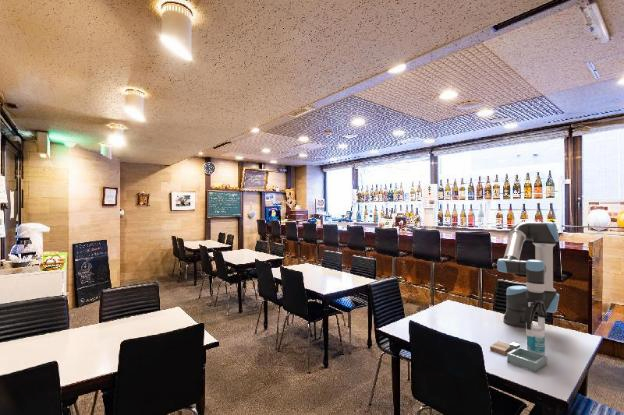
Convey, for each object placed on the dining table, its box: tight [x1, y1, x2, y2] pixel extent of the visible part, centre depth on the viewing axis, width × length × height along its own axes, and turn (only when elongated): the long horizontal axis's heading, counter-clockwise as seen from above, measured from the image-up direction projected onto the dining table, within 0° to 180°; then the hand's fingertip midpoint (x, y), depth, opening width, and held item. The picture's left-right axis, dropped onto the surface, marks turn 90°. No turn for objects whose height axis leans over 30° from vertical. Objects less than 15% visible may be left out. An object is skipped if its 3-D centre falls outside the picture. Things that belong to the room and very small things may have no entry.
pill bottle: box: [526, 324, 546, 356], centre depth 158 cm, size 8×7×14 cm
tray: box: [506, 346, 548, 373], centre depth 149 cm, size 12×12×4 cm
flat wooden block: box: [489, 340, 511, 356], centre depth 163 cm, size 10×7×2 cm
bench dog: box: [509, 341, 521, 351], centre depth 158 cm, size 4×3×5 cm
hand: (535, 332), depth 158 cm, fingers open, 13 cm apart
